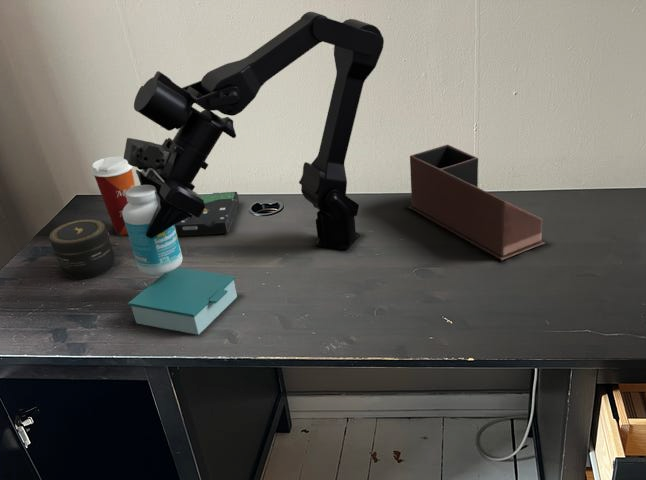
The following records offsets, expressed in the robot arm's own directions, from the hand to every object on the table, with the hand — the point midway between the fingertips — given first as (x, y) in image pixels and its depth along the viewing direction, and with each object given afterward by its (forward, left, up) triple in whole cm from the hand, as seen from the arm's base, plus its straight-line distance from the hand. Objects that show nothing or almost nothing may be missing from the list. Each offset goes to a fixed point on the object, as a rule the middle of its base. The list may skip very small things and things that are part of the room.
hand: (141, 228), depth 119 cm
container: (-7, +2, -13) cm, 15 cm away
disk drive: (+9, -29, -13) cm, 34 cm away
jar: (+20, -5, -13) cm, 25 cm away
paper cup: (+23, -21, -13) cm, 34 cm away
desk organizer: (-44, -40, -13) cm, 61 cm away
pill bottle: (-1, -1, -7) cm, 8 cm away
